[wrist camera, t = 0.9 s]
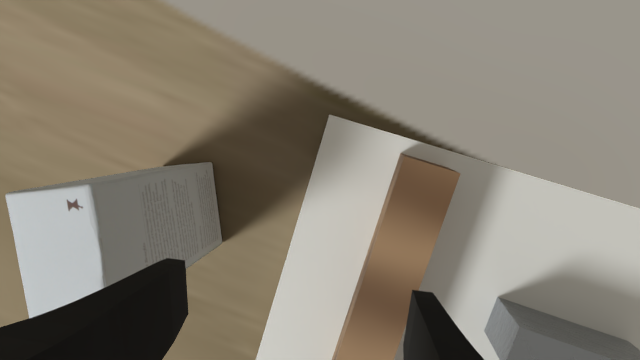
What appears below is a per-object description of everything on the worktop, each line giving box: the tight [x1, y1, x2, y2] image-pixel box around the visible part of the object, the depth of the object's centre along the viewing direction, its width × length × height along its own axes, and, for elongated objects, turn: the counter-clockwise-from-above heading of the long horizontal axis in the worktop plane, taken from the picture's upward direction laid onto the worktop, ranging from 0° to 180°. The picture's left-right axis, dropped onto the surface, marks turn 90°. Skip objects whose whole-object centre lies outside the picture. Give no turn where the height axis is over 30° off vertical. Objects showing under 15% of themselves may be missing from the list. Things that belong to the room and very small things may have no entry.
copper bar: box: [332, 153, 461, 360], centre depth 24 cm, size 16×3×4 cm, turn 163°
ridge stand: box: [256, 114, 640, 360], centre depth 24 cm, size 24×18×5 cm
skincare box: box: [6, 162, 222, 318], centre depth 22 cm, size 6×4×12 cm
